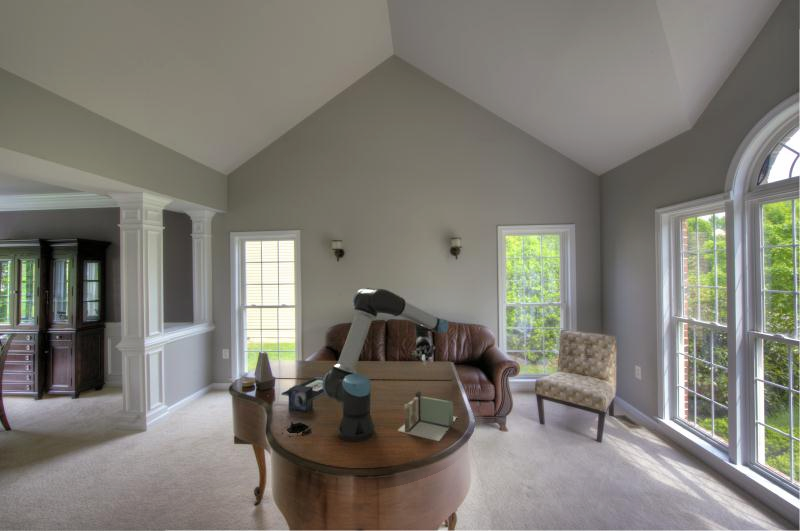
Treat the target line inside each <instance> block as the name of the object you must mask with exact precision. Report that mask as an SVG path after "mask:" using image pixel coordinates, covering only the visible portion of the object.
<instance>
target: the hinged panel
mask: <svg viewBox="0 0 800 531" xmlns="http://www.w3.org/2000/svg"><path fill="white" fill-rule="evenodd" d="M420 415H421V420H425V421H430V422H435V423H440V424H445V425H449V426H451V427H453V426H454V423H453V416H454V401H451V400H445V399H440V398H433V397H427V396H420Z"/></svg>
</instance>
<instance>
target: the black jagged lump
mask: <svg viewBox="0 0 800 531" xmlns="http://www.w3.org/2000/svg"><path fill="white" fill-rule="evenodd" d="M289 427H290V428H288V427H287V428H288V429H287V431H288V432H289V433H297V434H298V433H300V432H302V431H303V432H302V434H305V435H308V434H310V433H311V432H312V428H311V427H310V426H309V425H307V424H305V423H302V422H300V421H299V422H296V423H293V420H292V421H290V426H289ZM308 427H309V428H308ZM305 429H306V430H305ZM310 431H311V432H310ZM309 432H310V433H309ZM307 433H308V434H307ZM302 434H301V435H302Z"/></svg>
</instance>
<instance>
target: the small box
mask: <svg viewBox="0 0 800 531" xmlns="http://www.w3.org/2000/svg"><path fill="white" fill-rule="evenodd" d="M299 385H300V384H295V385H293V386H291V387H289V389H288V390H289V396H288V410H290V411H295V410H296V411H297V412H302V411H303V413H307V412H309V411H310V410H311V409H313V408H314V405H313V400H314V399H313V387H307V386H299ZM296 411H295V412H296Z"/></svg>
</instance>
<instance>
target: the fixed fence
mask: <svg viewBox="0 0 800 531" xmlns="http://www.w3.org/2000/svg"><path fill="white" fill-rule="evenodd" d="M414 394H415V397H414V398H413V399H412V400H410V401H409V402H408V403H405V404H404V424H405V432H409V429H410V428H411V427H412V426H413V425H414V424H415V423H416V422H417V421H420V420H421V416H420V397H421V395H422V392H421V391H419V390H417V391H415V393H414Z"/></svg>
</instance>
